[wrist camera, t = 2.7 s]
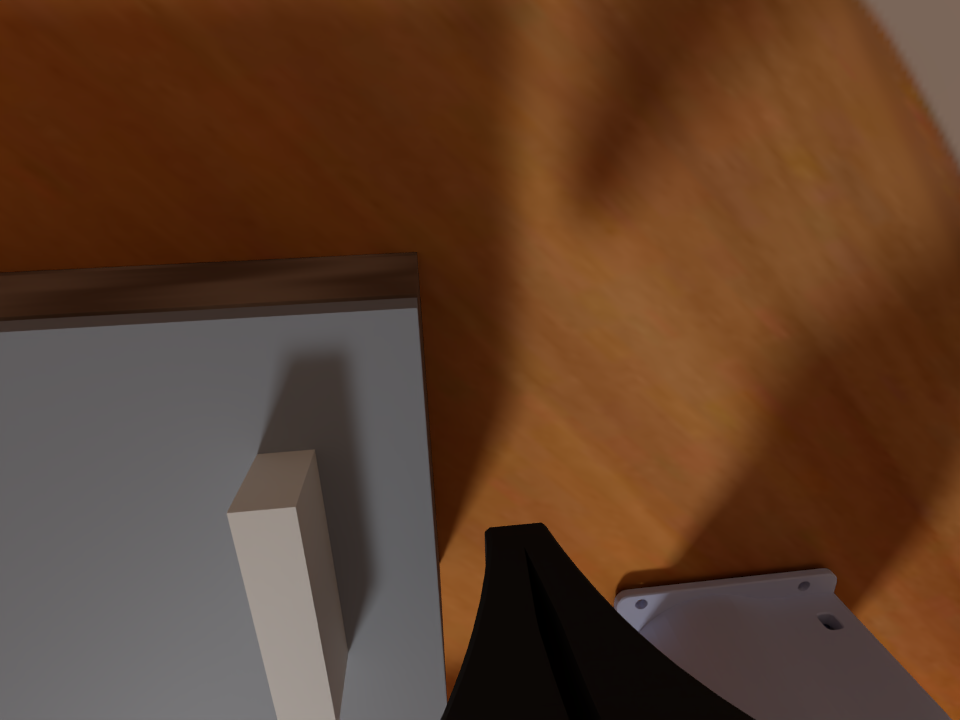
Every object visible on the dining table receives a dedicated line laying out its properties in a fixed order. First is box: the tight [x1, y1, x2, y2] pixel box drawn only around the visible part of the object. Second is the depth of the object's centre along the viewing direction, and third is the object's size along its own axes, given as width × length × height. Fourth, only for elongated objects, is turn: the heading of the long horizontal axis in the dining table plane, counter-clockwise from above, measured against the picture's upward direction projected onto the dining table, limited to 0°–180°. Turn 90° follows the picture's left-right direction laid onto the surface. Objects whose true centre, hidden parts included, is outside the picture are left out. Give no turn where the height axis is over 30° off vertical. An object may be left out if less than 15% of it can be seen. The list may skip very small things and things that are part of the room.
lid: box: [0, 298, 447, 720], centre depth 12 cm, size 14×12×3 cm
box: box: [0, 252, 446, 679], centre depth 16 cm, size 14×12×5 cm
